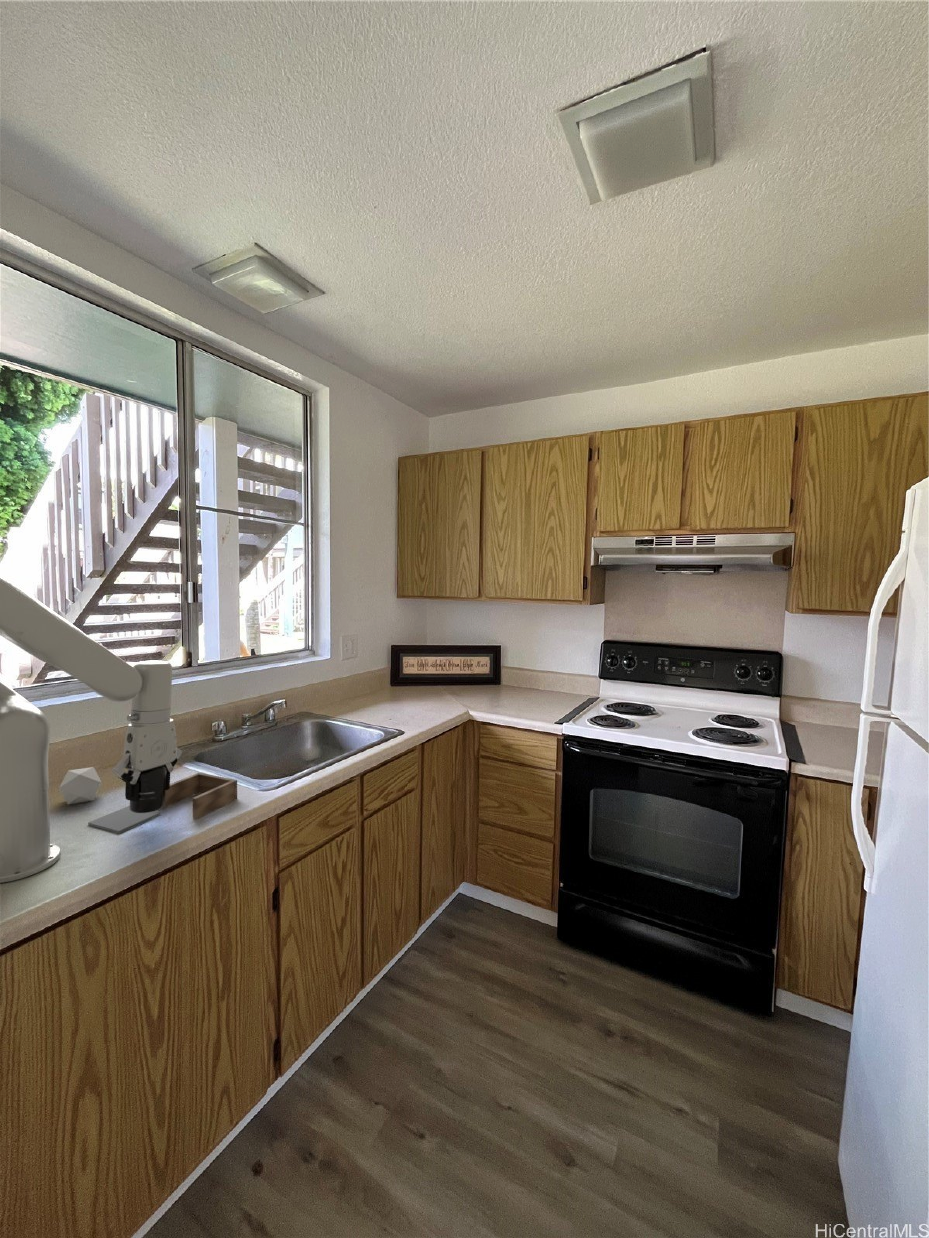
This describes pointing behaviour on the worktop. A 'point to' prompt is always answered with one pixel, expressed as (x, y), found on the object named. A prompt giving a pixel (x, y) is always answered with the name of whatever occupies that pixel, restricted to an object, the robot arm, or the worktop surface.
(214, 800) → the cubby
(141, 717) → the robot arm
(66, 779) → the die
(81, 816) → the worktop surface
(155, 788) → the supplement bottle
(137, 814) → the pad
